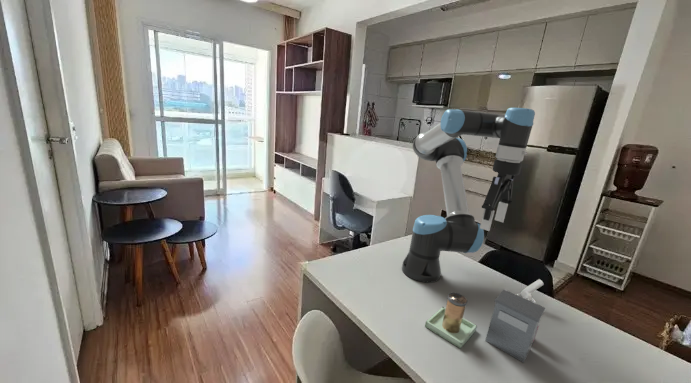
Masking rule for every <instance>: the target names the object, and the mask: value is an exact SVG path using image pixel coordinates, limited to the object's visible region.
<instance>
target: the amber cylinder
mask: <svg viewBox="0 0 691 383" xmlns="http://www.w3.org/2000/svg"><path fill="white" fill-rule="evenodd" d="M447 294H448V295H447V298H446V299H447V300H446V302H447V303H446V305H445V308H446V309H445V314H444V318H443V323H442V326H443V328H444V329H445V330H446V331H448V332H450V333H458V332H459V331H460V327H461V323H462V319H463V318H464V313H465V309H466V306H467V305H468V299H467V298H466V296H464V295H463V294H460V293H457V292H449V293H447Z"/></svg>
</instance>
